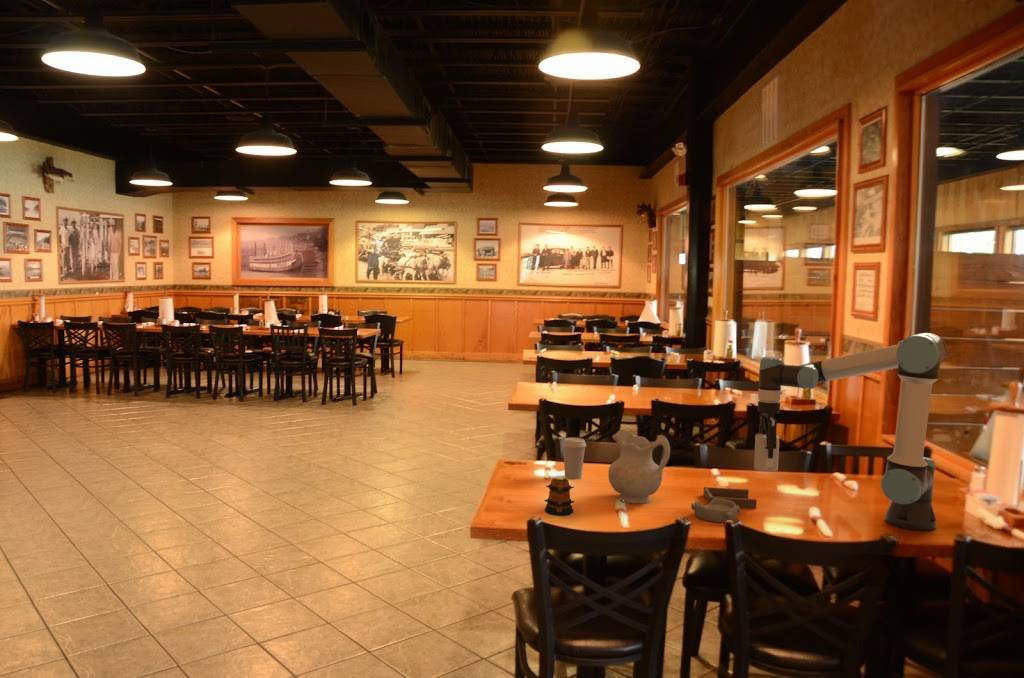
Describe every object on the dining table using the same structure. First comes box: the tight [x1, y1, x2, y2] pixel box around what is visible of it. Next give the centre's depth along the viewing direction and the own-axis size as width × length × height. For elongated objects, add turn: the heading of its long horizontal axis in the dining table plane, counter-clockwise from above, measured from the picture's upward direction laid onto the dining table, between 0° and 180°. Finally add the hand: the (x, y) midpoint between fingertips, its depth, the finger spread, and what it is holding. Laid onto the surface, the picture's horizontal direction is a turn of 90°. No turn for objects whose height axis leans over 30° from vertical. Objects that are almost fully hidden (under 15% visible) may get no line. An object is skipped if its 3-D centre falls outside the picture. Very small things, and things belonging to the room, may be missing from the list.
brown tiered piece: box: [544, 477, 575, 517], centre depth 261 cm, size 13×10×12 cm
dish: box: [690, 498, 741, 523], centre depth 262 cm, size 14×14×5 cm
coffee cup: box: [561, 437, 587, 480], centre depth 307 cm, size 10×10×15 cm
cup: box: [753, 433, 780, 473], centre depth 278 cm, size 8×8×12 cm
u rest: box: [702, 486, 758, 509], centre depth 280 cm, size 13×16×3 cm
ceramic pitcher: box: [608, 429, 671, 505], centre depth 279 cm, size 22×20×25 cm
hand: (766, 463), depth 278 cm, fingers closed on cup, 8 cm apart
